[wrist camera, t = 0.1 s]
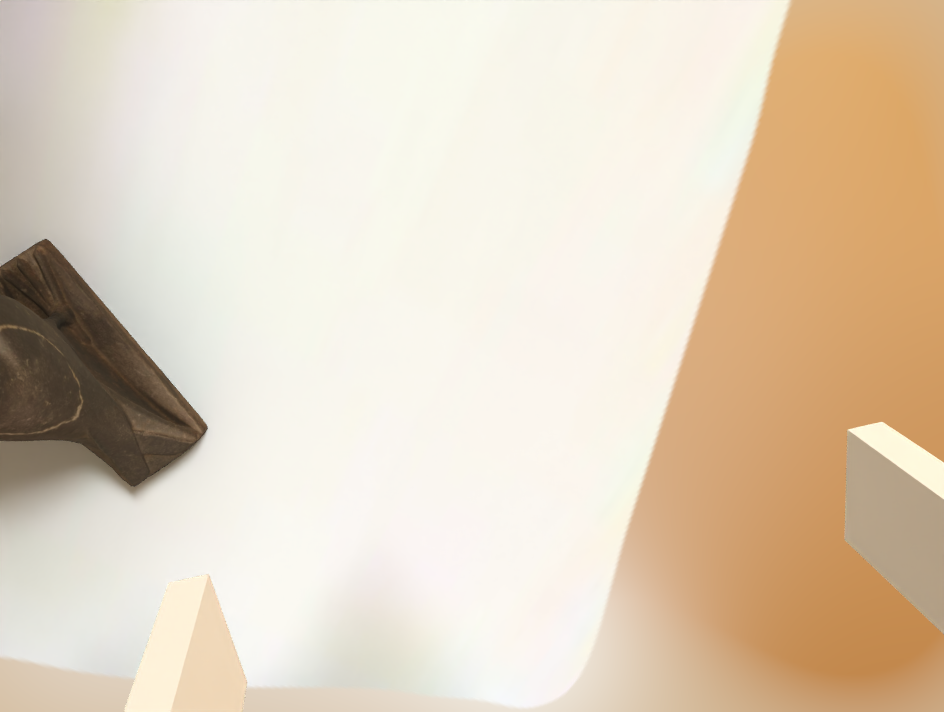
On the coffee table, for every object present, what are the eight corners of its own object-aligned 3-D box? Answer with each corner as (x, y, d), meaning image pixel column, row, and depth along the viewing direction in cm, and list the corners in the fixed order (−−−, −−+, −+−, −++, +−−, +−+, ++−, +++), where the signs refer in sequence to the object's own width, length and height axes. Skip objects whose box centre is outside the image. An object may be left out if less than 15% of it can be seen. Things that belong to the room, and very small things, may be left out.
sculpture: (55, 232, 38) (-86, 304, 26) (214, 428, 43) (158, 566, 31) (-37, 290, 39) (-219, 388, 26) (131, 478, 43) (42, 635, 31)
